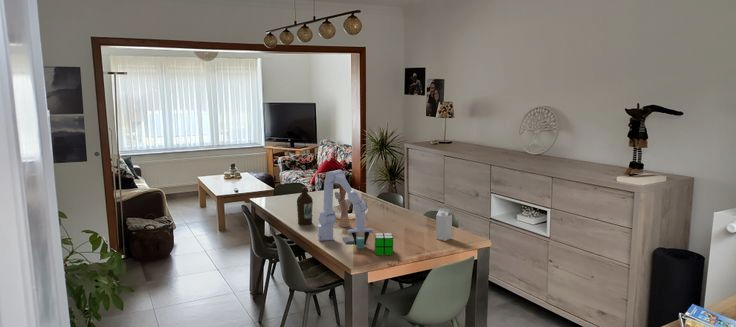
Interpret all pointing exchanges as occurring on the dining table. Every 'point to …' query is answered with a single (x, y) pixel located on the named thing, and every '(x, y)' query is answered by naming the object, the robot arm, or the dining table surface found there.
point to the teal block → (360, 242)
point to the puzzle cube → (383, 244)
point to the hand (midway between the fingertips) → (360, 244)
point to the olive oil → (304, 208)
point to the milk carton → (443, 224)
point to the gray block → (349, 240)
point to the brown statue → (343, 207)
